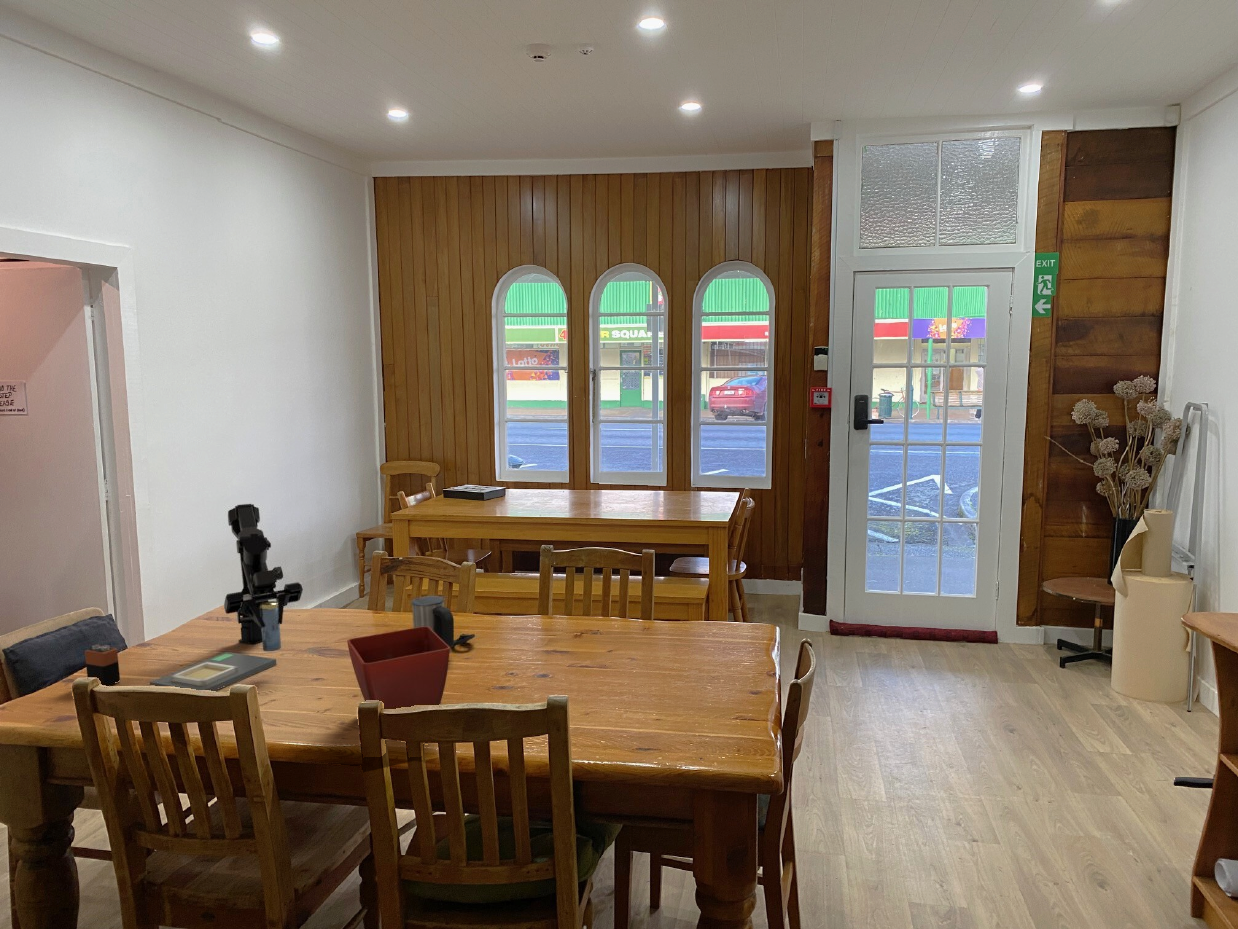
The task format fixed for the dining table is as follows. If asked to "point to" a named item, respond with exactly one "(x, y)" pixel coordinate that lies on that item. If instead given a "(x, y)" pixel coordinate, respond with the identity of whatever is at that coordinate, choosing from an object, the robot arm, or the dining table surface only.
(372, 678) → the plant pot
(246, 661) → the tester board
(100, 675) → the battery
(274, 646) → the cell
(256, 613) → the robot arm
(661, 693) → the dining table surface
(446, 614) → the milk frother
